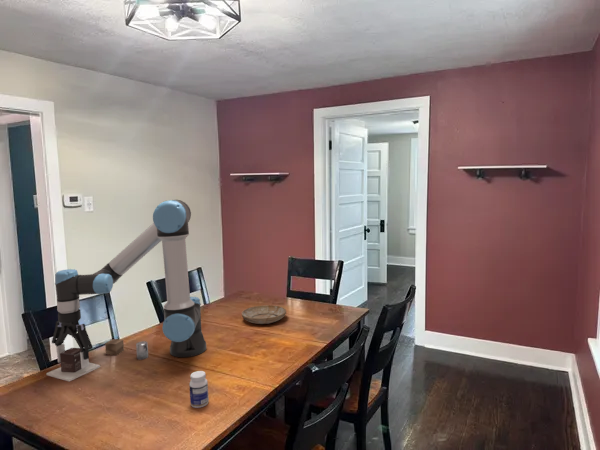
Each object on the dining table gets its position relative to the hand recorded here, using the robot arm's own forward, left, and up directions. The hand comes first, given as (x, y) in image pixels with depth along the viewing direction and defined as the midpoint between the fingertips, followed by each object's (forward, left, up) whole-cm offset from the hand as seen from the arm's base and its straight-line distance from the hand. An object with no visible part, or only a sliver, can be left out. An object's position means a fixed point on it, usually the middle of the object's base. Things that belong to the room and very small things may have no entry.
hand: (73, 364), depth 158 cm
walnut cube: (0, -19, -3) cm, 19 cm away
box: (0, 0, -2) cm, 2 cm away
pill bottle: (-61, 0, -3) cm, 61 cm away
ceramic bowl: (-38, -80, -3) cm, 89 cm away
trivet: (0, 0, -3) cm, 3 cm away
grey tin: (-15, -20, -3) cm, 25 cm away
